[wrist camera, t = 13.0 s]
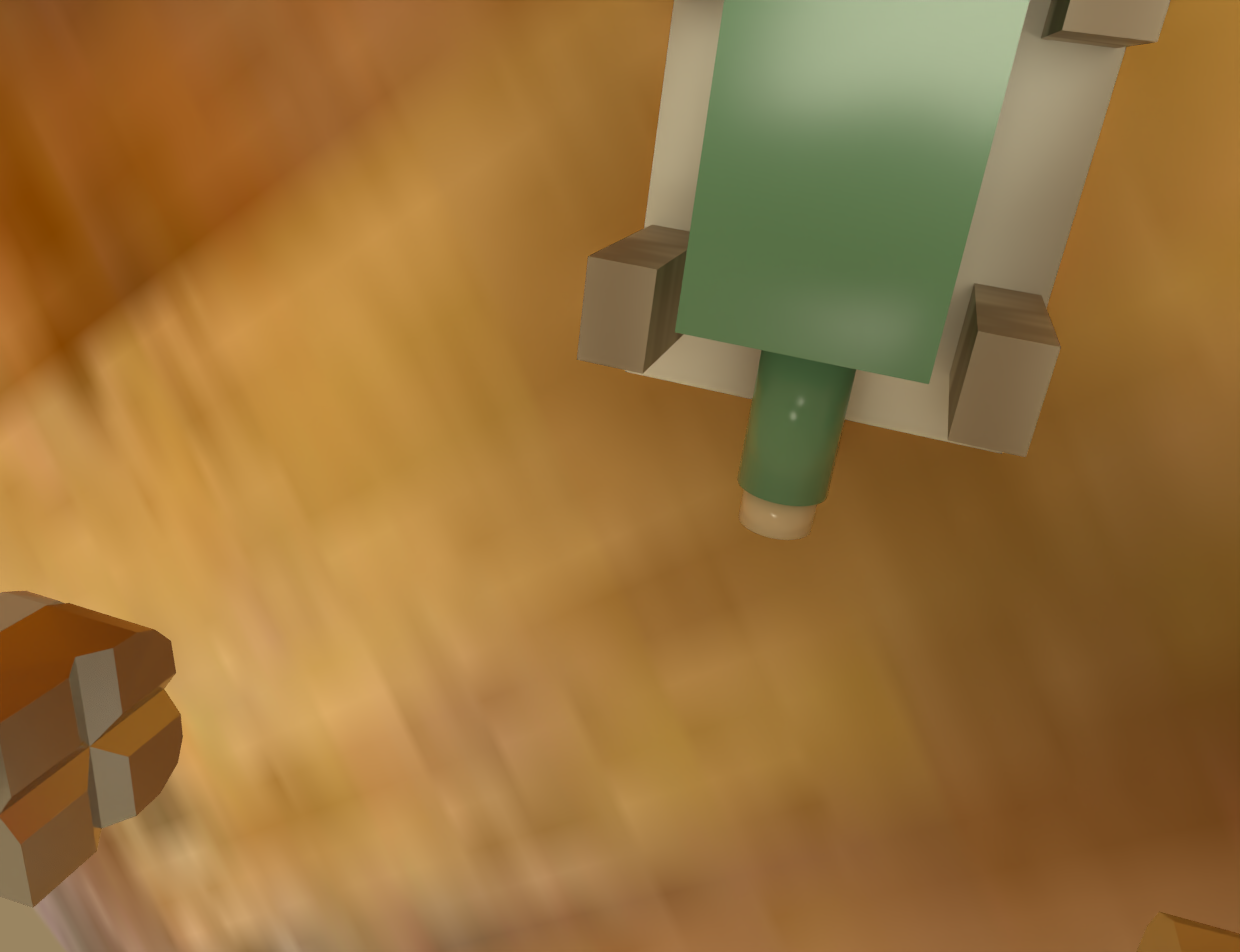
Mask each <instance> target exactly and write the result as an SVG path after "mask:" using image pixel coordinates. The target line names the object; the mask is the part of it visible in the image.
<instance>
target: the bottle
mask: <svg viewBox="0 0 1240 952" xmlns="http://www.w3.org/2000/svg"><path fill="white" fill-rule="evenodd" d="M1029 1H1030V0H724V4H723V11H722V18H721V24H720V31H719V38H718V45H717V51H716V58H715V65H714V72H713V78H712V85H711V92H710V99H709V105H708V112H707V119H706V126H705V132H704V139H703V146H702V152H701V159H700V166H699V173H698V179H697V186H696V193H695V200H694V206H693V213H692V220H691V227H690V233H689V240H688V247H687V254H686V260H685V267H684V274H683V280H682V287H681V294H680V301H679V307H678V314H677V321H676V328H675V333H680V334H685V335H690V336H695V337H700V338H705V339H710V340H715V341H719V342H724V343H729V344H734V345H739V346H744V347H749V348H754V349H759V350H761V354H760V360H759V365H758V370H757V376H756V381H755V386H754V392H753V397H752V403H751V408H750V413H749V419H748V424H747V429H746V435H745V440H744V445H743V451H742V456H741V461H740V467H739V472H738V478H737V480H738V483H739V485H740V486H741V487H742V488H743V489H744V490H743V495H742V501H741V506H740V511H739V520H740V522H741V523H742V524H743V525H744V526H745V527H746V528H747V529H749V530H751V531H753V532H755V533H757V534H759V535H762V536H765V537H769V538H774V539H781V540H795V539H800V538H804V537H806V536H807V535H809V533H810V532H811V528H812V524H813V519H814V515H815V510H816V506H817V504H819V503H821V502H823V501H824V500H825V499H826V498H827V496H828V491H829V487H830V483H831V478H832V474H833V470H834V465H835V461H836V456H837V452H838V448H839V443H840V439H841V435H842V430H843V426H844V422H845V417H846V413H847V408H848V404H849V400H850V395H851V391H852V387H853V382H854V378H855V374H856V370H861V371H866V372H871V373H876V374H881V375H886V376H891V377H896V378H900V379H905V380H910V381H915V382H920V383H925V384H929V382H930V378H931V375H932V371H933V367H934V363H935V359H936V356H937V352H938V348H939V344H940V340H941V337H942V333H943V329H944V325H945V321H946V317H947V314H948V310H949V306H950V302H951V298H952V295H953V291H954V287H955V283H956V279H957V276H958V272H959V268H960V264H961V260H962V256H963V253H964V249H965V245H966V241H967V237H968V234H969V230H970V226H971V222H972V218H973V215H974V211H975V207H976V203H977V199H978V195H979V192H980V188H981V184H982V180H983V176H984V173H985V169H986V165H987V161H988V157H989V154H990V150H991V146H992V142H993V138H994V134H995V131H996V127H997V123H998V119H999V115H1000V112H1001V108H1002V104H1003V100H1004V96H1005V92H1006V89H1007V85H1008V81H1009V77H1010V73H1011V70H1012V66H1013V62H1014V58H1015V54H1016V51H1017V47H1018V43H1019V39H1020V35H1021V31H1022V28H1023V24H1024V20H1025V16H1026V12H1027V9H1028V5H1029Z"/></svg>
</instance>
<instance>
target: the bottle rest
mask: <svg viewBox="0 0 1240 952" xmlns="http://www.w3.org/2000/svg"><path fill="white" fill-rule="evenodd" d="M1169 3H1170V0H1030V1H1029V5H1028V9H1027V12H1026V16H1025V20H1024V24H1023V28H1022V31H1021V35H1020V39H1019V43H1018V47H1017V51H1016V54H1015V58H1014V62H1013V66H1012V70H1011V73H1010V77H1009V81H1008V85H1007V89H1006V92H1005V96H1004V100H1003V104H1002V108H1001V112H1000V115H999V119H998V123H997V127H996V131H995V134H994V138H993V142H992V146H991V150H990V154H989V157H988V161H987V165H986V169H985V173H984V176H983V180H982V184H981V188H980V192H979V195H978V199H977V203H976V207H975V211H974V215H973V218H972V222H971V226H970V230H969V234H968V237H967V241H966V245H965V249H964V253H963V256H962V260H961V264H960V268H959V272H958V276H957V279H956V283H955V287H954V291H953V295H952V298H951V302H950V306H949V310H948V314H947V317H946V321H945V325H944V329H943V333H942V337H941V340H940V344H939V348H938V352H937V356H936V359H935V363H934V367H933V371H932V375H931V378H930V382H929V384H925V383H920V382H915V381H910V380H905V379H900V378H896V377H891V376H886V375H881V374H876V373H871V372H866V371H861V370H856V374H855V378H854V382H853V387H852V391H851V395H850V400H849V404H848V408H847V413H846V417H845V420H849V421H854V422H858V423H863V424H868V425H872V426H877V427H881V428H886V429H891V430H895V431H900V432H904V433H909V434H913V435H918V436H923V437H927V438H932V439H936V440H941V441H945V442H950V443H955V444H959V445H964V446H968V447H973V448H978V449H982V450H987V451H991V452H996V453H1000V454H1002V452H1004V453H1008V454H1013V455H1018V456H1022V457H1026V455H1027V452H1028V449H1029V446H1030V443H1031V440H1032V436H1033V433H1034V430H1035V427H1036V424H1037V421H1038V417H1039V414H1040V411H1041V408H1042V405H1043V402H1044V399H1045V395H1046V392H1047V389H1048V386H1049V383H1050V380H1051V376H1052V373H1053V370H1054V367H1055V364H1056V361H1057V357H1058V354H1059V351H1060V348H1061V346H1060V344H1059V341H1058V338H1057V336H1056V333H1055V330H1054V328H1053V325H1052V322H1051V320H1050V317H1049V314H1048V312H1047V309H1046V308H1047V305H1048V301H1049V298H1050V295H1051V292H1052V288H1053V285H1054V282H1055V279H1056V275H1057V272H1058V269H1059V265H1060V262H1061V259H1062V256H1063V252H1064V249H1065V246H1066V243H1067V239H1068V236H1069V233H1070V229H1071V226H1072V223H1073V220H1074V216H1075V213H1076V210H1077V206H1078V203H1079V200H1080V197H1081V193H1082V190H1083V187H1084V184H1085V180H1086V177H1087V174H1088V170H1089V167H1090V164H1091V161H1092V157H1093V154H1094V151H1095V147H1096V144H1097V141H1098V138H1099V134H1100V131H1101V128H1102V125H1103V121H1104V118H1105V115H1106V111H1107V108H1108V105H1109V102H1110V98H1111V95H1112V92H1113V88H1114V85H1115V82H1116V79H1117V75H1118V72H1119V69H1120V66H1121V62H1122V59H1123V56H1124V52H1125V49H1126V47H1127V46H1134V45H1140V44H1147V43H1153V42H1157V41H1158V38H1159V35H1160V32H1161V29H1162V26H1163V22H1164V19H1165V16H1166V13H1167V10H1168V7H1169ZM723 4H724V0H674V5H673V12H672V20H671V28H670V35H669V43H668V51H667V58H666V66H665V73H664V81H663V89H662V96H661V104H660V111H659V119H658V127H657V134H656V142H655V150H654V157H653V165H652V172H651V180H650V188H649V195H648V203H647V210H646V218H645V226H644V229H642V230H640V231H638V232H636V233H634V234H632V235H630V236H628V237H626V238H624V239H622V240H620V241H618V242H616V243H614V244H612V245H610V246H608V247H606V248H604V249H602V250H600V251H598V252H596V253H594V254H592V255H590V256H588V262H587V271H586V281H585V290H584V299H583V308H582V317H581V326H580V335H579V344H578V353H577V360H582V361H586V362H591V363H595V364H600V365H604V366H609V367H614V368H618V369H623V370H625V372H629V373H634V374H638V375H643V376H648V377H652V378H657V379H661V380H666V381H671V382H675V383H680V384H684V385H689V386H693V387H698V388H703V389H707V390H712V391H716V392H721V393H726V394H730V395H735V396H739V397H744V398H748V399H752V397H753V392H754V386H755V381H756V376H757V370H758V365H759V360H760V354H761V350H759V349H754V348H749V347H744V346H739V345H734V344H729V343H724V342H719V341H715V340H710V339H705V338H700V337H695V336H690V335H685V334H680V333H675V328H676V321H677V314H678V307H679V301H680V294H681V287H682V280H683V274H684V267H685V260H686V254H687V247H688V240H689V233H690V227H691V220H692V213H693V206H694V200H695V193H696V186H697V179H698V173H699V166H700V159H701V152H702V146H703V139H704V132H705V126H706V119H707V112H708V105H709V99H710V92H711V85H712V78H713V72H714V65H715V58H716V51H717V45H718V38H719V31H720V24H721V18H722V11H723Z"/></svg>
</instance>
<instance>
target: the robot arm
mask: <svg viewBox="0 0 1240 952" xmlns="http://www.w3.org/2000/svg"><path fill="white" fill-rule="evenodd" d="M175 673H176V670H175V663H174V657H173V651H172V645H171V641H170V640H169V639H167V638H166V637H165V636H163V635H162V634H160V633H159V632H157V631H156V630H154V629H151V628H147V627H144V626H141V625H138V624H135V623H131V622H128V621H125V620H122V619H118V618H115V617H112V616H109V615H105V614H102V613H99V612H96V611H93V610H89V609H86V608H83V607H80V606H76V605H73V604H70V603H66V604H65V603H62V602H60V601H57V600H54V599H50V598H47V597H44V596H41V595H37V594H34V593H31V592H28V591H14V592H2V593H0V897H3V898H6V899H9V900H12V901H15V902H18V903H21V904H24V905H27V906H30V907H34V906H35V905H37V904H38V903H39V902H40V901H41V900H42V899H43V898H44V897H46V896H47V895H48V894H49V893H50V892H51V891H52V890H53V889H55V888H56V887H57V886H58V885H59V884H60V883H61V882H62V881H64V880H65V879H66V878H67V877H68V876H69V875H70V874H71V873H73V872H74V871H75V870H76V869H77V868H78V867H79V866H81V865H82V864H83V863H84V862H85V861H86V860H87V859H88V858H90V857H91V856H92V855H93V854H94V853H95V852H96V851H97V847H98V843H99V839H100V834H101V830H102V828H104V827H107V826H110V825H112V824H115V823H118V822H121V821H123V820H126V819H129V818H132V817H134V816H137V815H138V814H139V813H140V812H141V811H142V810H143V809H144V808H145V807H146V806H147V805H148V804H149V803H150V802H152V801H153V800H154V799H155V798H156V797H157V796H158V795H159V794H160V793H161V791H162V790H163V788H164V786H165V784H166V782H167V781H168V779H169V777H170V775H171V774H172V772H173V770H174V768H175V767H176V765H177V763H178V759H179V754H180V748H181V743H182V738H183V735H182V725H181V714H180V713H179V711H178V710H177V708H176V706H175V705H174V703H173V702H172V700H171V699H170V697H169V696H168V694H167V693H166V691H165V690H164V688H165V687H166V686H167V684H168V683H169V682H170V680H171V679H172V677H173V676H174V675H175ZM1136 952H1240V934H1239V933H1235V932H1232V931H1228V930H1224V929H1221V928H1217V927H1213V926H1210V925H1206V924H1203V923H1199V922H1195V921H1192V920H1188V919H1184V918H1181V917H1177V916H1173V915H1170V914H1166V913H1162V912H1159V913H1158V914H1157V915H1156V916H1155V917H1154V918H1153V920H1152V921H1151V922H1150V923H1149V924H1148V925H1147V928H1146V930H1145V932H1144V935H1143V937H1142V939H1141V942H1140V944H1139V947H1138V949H1137V951H1136Z"/></svg>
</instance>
